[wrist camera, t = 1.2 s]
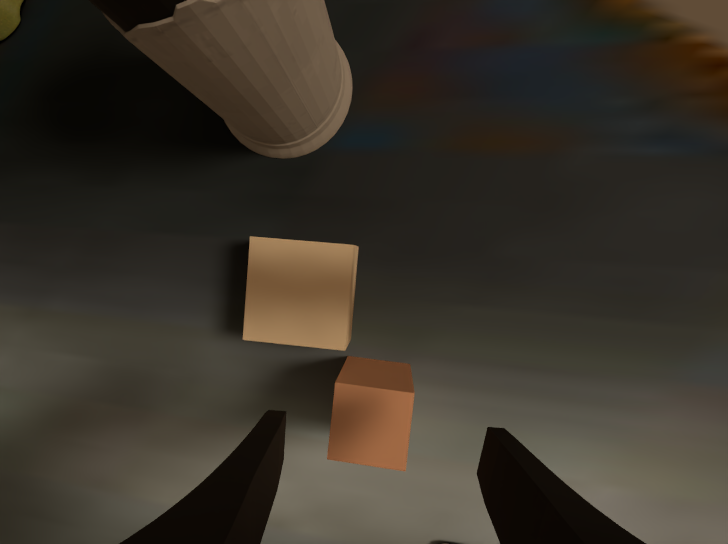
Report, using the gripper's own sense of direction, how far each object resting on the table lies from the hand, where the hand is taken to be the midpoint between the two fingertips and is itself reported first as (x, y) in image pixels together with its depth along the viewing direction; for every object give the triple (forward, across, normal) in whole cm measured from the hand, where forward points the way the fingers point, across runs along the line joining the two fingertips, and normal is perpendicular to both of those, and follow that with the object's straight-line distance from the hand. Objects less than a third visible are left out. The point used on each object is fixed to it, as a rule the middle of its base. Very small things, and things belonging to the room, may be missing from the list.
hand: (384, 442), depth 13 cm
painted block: (+10, -1, +4) cm, 10 cm away
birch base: (+12, +4, -1) cm, 13 cm away
